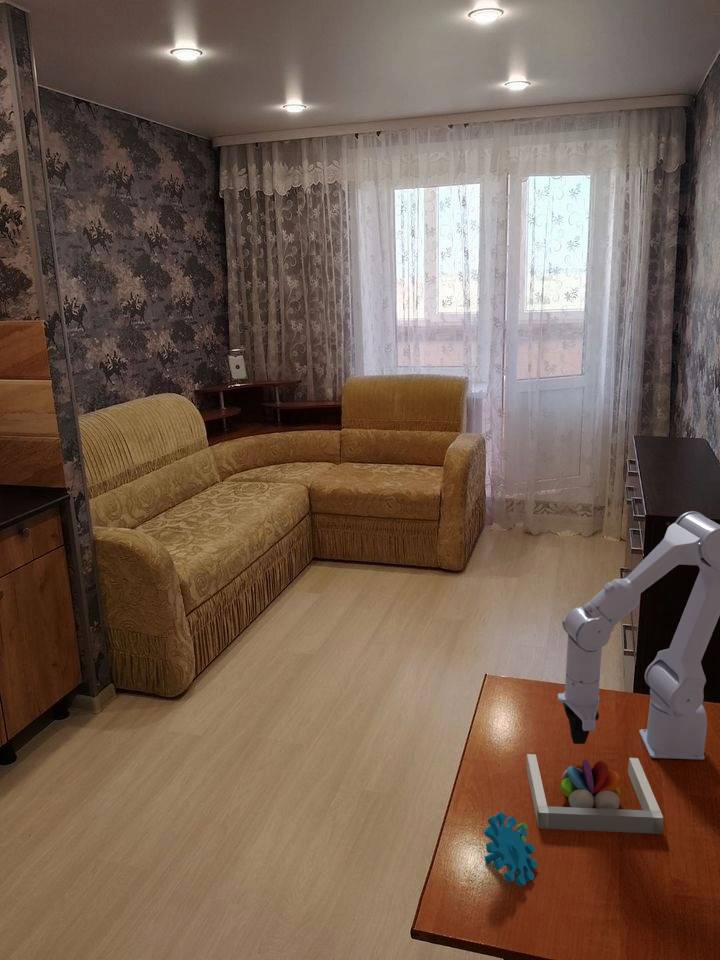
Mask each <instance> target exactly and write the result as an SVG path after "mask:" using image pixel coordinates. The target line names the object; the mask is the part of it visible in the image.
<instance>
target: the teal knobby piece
mask: <svg viewBox="0 0 720 960" xmlns="http://www.w3.org/2000/svg"><path fill="white" fill-rule="evenodd" d="M505 821H506V822H507V823H506V824H507V825H506V824H505ZM487 823H488V824H489V826H487V827H485V828H484V830H483V835H484V836H485V837H487V838H488V839H489V840H490V841H489V842H487V843H486V844H485V847H486V853H488V854H487V855H484V861H485V863H487V864H490V863H492V864H493V866H494V870H496V871H500V870H501V869H503V868H504V866H505V867H507V868H508V869H507V870H508V871H507V872H504V874H503V878H504V880H506V882H507V883H511V882H512V883H513V882H514V881H515V884H516V885H517V886H519V887H524V886H525V885H527V882H529V881H532V880H534V879H535V875H534V873H533V872H532V871H533V870H536V869H537V866H538V862H537V860H536V859H534V858H532V857H531V856H530V855H532V854H534V853H535V846H534V844H533V843H527V837H528V833H527V831H526V830H528V829H529V828H528V824H527V823H526V822H521V823H519V824H518V821H517V819H516V818H515V817H514V816H513V815H512V816H510V817H508V818H507V815H506V813H505V812H502V811H500V812H498V813H496V815H492V816H490V817H489V818H487ZM515 826H516V829H515V830H514V827H515ZM515 872H516V877H515Z"/></svg>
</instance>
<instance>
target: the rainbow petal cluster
mask: <svg viewBox="0 0 720 960" xmlns="http://www.w3.org/2000/svg"><path fill="white" fill-rule="evenodd" d="M581 766H582V767H581V768H582V769H581V768H579V767H576V766H572V765H570V766H568V767H567V769H566V770H564V772H563V774H562V779H561V780H562V781H561V783H560V790H561V792H562V794H563V795H564V796H565V797H567V798H568V803H569V804H568V805H569V807H574V808H594V806H595V808H598V809H619V808H620V798H621V796H622V795H621V794H622V793H621V790H620V789H619V787H618V786H619V785H620V783H621V776H620V775H619V773H618V772H616V771H614V770H613V769H612V770H610V769H608V765H607V764H606V762H604V761H602V760H600V761H597V762H596V763H595V764H594V765H593V766H592V767H591V764H590V762H589V760H587V759H584V760H582V763H581Z"/></svg>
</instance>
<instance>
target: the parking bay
mask: <svg viewBox="0 0 720 960" xmlns="http://www.w3.org/2000/svg"><path fill="white" fill-rule="evenodd" d="M627 766H628V767H627V774H628V777H629V780H630V781H631V784H632V787H633V789H634V792H635V794H636V796H637V798H638V802H639V805H640V807H641V809H642V810H641V809H620V808H618V809H598V808H596V807H595V808H594V807H592V808H574V807H571V806H569V807H568V806H567V807H565V806H550V805H549V806H548V803H547V799H546V794H545V789H544V786H543V782H542V781H543V780H542V777H541V772H540V767H539V763H538V759H537V754H534V753H533V754H531V753H527V754H526V766H525V769H526V773H527V778H528V784H529V788H530V789H529V790H530V794H531V799H532V802H533V803H532V804H533V808H534V809H533V810H534V814H535V819H536V824H537V827H538V828H537V829H541V830H542V829H544V830H547V829H548V830H564V831H565V830H567V831H590V832H591V831H593V832H607V833H608V832H611V833H612V832H613V833H614V832H615V833H632V834H633V833H635V834H654V835H655V834H656V835H657V834H658V835H659V834H660V835H661V834H662V832H663V827H664V826H663V825H664V816H663V814H662V810H661V809H660V806H659V804H658V801H657V799H656V797H655V795H654V792H653V791H652V790H653V789H652V788H651V786H650V783H649V780H648V779H647V776H646V773H645V772H644V768H643V767H642V763H641V762H640V759H639V758H638V757H629V758H628V765H627Z"/></svg>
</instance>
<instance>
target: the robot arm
mask: <svg viewBox="0 0 720 960" xmlns="http://www.w3.org/2000/svg"><path fill="white" fill-rule="evenodd" d="M679 565H681V566H682V565H684V566H686V565H687V566H697V567H699V572H698V575H697V577H696V580H695V582H694V584H693V587H692V589H691V591H690V595H689V597H688V600H687V603H686V606H685V607H684V610H683V613H682V615H681V617H680V621H679V623H678V625H677V628H676V630H675V633H674V634H673V638H672V640H671V643H670V645H669V648H666V649H662V650H659V651H657V654H656V656H655V658H654V660H653V661H651V663H650V664H649V665H648V666H647V667H646V669H645V672H644V680H645V683H646V685H648V687H650V689H649V694H650V697H649V698H650V699H649V706H648V707H649V708H648V719H647V727H646V728H645V729H639V731H638V732H639V735H640V737H641V739H642V742H643V744H644V746H645V748H646V750H647V752H648V753H647V754H648V755H649V757H650V758H651V759H652V758H653V759H672V760H673V759H674V760H675V759H677V760H678V759H681V760H701V761H702V760H705V758H706V756H705V754H704V753H705V745H706V737H707V731H708V730H707V729H708V721H707V719H708V718H707V713H706V712H707V711H706V710H705V707H704V705H703V701H704V687H705V685H706V683H707V679H706V678H707V677H706V675H705V673H704V670H703V666H702V660H703V658H704V655H705V652H706V650H707V647H708V645H709V643H710V640H711V638H712V636H713V632H714V630H715V627H716V626H717V623H718V620H719V618H720V524H719V523H717V522H715V521H714V520H711V519H710V518H708V517H706V516H705V515H704V514H702V513H701V512H698V511H694V510H691V511H687V512H685V513H683V514H681V515H680V516H679V517H678V518H677V519H675V522H673V523H672V524H670V525H669V526H668V527H667V529H666V532H665V534H664V537H663V538H662V539H661V541H660V543H658V544H657V545H656V546H655V547H654V548H653V549H652V550H651V552H649V554H648V555H647V556H645V557H644V559H643V560H642V561H641V562H640V563H639V564H637V566H636V567H635V568H634V569H633V570H632V571H630V573H629V574H628V575H627V576H625V578H614V579H612V581H610V582H609V581H608V582H607V583H605V584H604V585H603V586H602V587H603V588H602V589H601V590H600V591H599V592H597V594H596V595H595V596H593V597H592V598H591V599H590V600H589V601H588V602H586V603H584V605H582V606H579V607H576V608H573V609H571V610H570V611H569V612H568V613H567V614H566V617H565V619H564V620H562V621H561V622H562V623H561V624H562V628H563V630H564V631H565V633H566V634H567V649H566V662H565V663H566V665H565V680H564V681H565V683H564V692H562V693H561V692H559V693H558V694H557V701H558V702H559V703H561V704H562V706H563V708H564V711H565V714H566V717H567V719H568V723H569V731H570V736H571V741H572V743H573V745H585V744H586V742H587V740H588V737H589V734H590V732H596V726H597V721H599V717H600V715H599V711H598V709H599V705H600V696H599V694H600V678H601V667H602V665H601V664H602V663H601V662H602V651H603V647H604V646H605V647H606V646H607V644H608V642H609V641H610V638H611V634H612V632H613V631H614V629H615V626H617V624H619V623H620V622H621V621H622V620H623V619H624V618H625V617H627V616H628V615H629V614H630V613H631V612H632V611H633V610H635V609H636V608H637V607H638V606H639V605H640V601H641V600H640V599H641V593H643V592H645V590H646V589H648V588H649V587H651V586H652V585H653V584H655V583H656V582H657V581H659V580H660V579H661V578H663V577H664V576H665V575H667V574H668V573H669V572H670V571H672V570H673V569H674V568H675V567H677V566H679Z"/></svg>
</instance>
